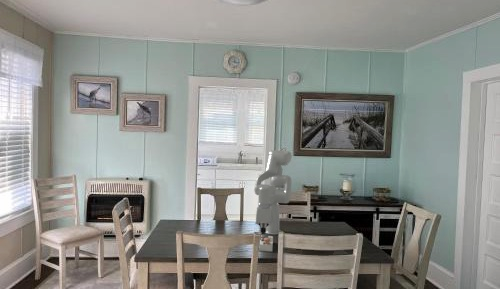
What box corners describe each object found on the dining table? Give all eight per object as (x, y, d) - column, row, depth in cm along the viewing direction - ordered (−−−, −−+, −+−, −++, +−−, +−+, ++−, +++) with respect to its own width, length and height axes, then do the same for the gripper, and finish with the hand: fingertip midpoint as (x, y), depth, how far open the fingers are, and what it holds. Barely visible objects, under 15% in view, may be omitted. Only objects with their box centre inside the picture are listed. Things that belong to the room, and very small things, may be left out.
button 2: (263, 242, 239) (264, 237, 239) (270, 243, 239) (270, 237, 238) (263, 244, 235) (263, 239, 235) (270, 245, 235) (270, 239, 235)
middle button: (261, 239, 246) (262, 234, 245) (268, 239, 245) (268, 234, 245) (261, 241, 242) (261, 236, 241) (267, 241, 241) (268, 236, 241)
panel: (257, 241, 253) (257, 235, 253) (272, 242, 253) (272, 236, 252) (256, 250, 234) (256, 244, 234) (272, 251, 234) (272, 245, 234)
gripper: (275, 204, 253) (274, 232, 254) (253, 204, 254) (252, 231, 255) (275, 207, 245) (274, 235, 246) (252, 206, 246) (251, 234, 247)
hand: (263, 233), depth 251 cm, fingers closed
